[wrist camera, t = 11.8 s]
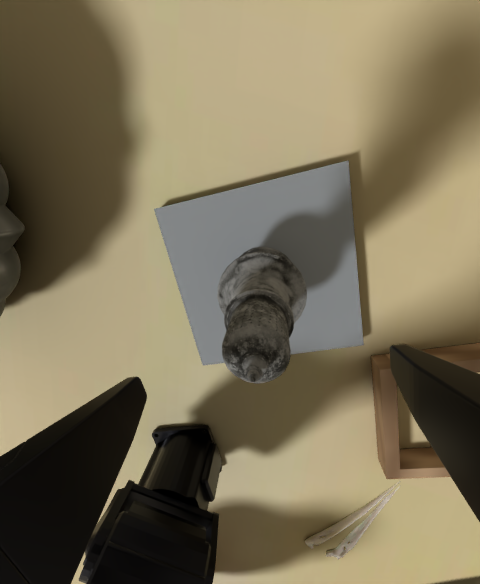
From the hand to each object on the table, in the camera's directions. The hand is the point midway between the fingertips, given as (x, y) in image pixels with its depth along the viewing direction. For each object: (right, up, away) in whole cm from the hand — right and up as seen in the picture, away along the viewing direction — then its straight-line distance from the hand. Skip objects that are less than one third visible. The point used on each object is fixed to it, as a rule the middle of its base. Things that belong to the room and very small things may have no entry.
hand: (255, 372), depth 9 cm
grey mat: (+1, +4, +12) cm, 13 cm away
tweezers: (+13, -22, +21) cm, 33 cm away
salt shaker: (+1, +4, +11) cm, 12 cm away
